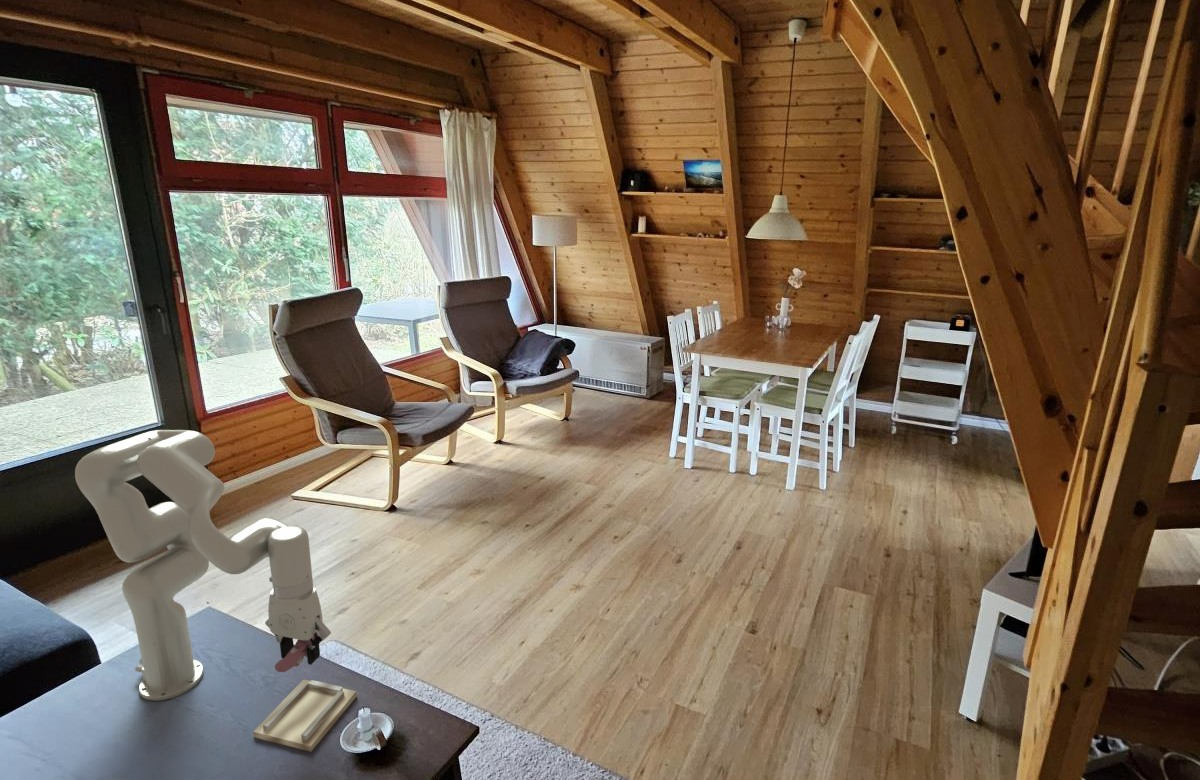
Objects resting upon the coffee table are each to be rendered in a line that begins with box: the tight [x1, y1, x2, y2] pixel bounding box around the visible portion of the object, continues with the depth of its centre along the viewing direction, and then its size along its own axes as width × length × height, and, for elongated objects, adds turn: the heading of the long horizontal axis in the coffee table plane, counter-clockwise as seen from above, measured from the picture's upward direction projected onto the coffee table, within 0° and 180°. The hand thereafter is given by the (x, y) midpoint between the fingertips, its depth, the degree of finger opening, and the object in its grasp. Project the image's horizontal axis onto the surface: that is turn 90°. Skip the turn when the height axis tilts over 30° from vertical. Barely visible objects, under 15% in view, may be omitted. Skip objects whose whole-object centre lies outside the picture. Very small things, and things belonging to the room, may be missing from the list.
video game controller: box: [274, 633, 320, 673], centre depth 134 cm, size 10×5×7 cm, turn 168°
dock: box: [252, 679, 357, 753], centre depth 139 cm, size 14×16×3 cm
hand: (300, 656), depth 135 cm, fingers closed on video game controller, 5 cm apart
